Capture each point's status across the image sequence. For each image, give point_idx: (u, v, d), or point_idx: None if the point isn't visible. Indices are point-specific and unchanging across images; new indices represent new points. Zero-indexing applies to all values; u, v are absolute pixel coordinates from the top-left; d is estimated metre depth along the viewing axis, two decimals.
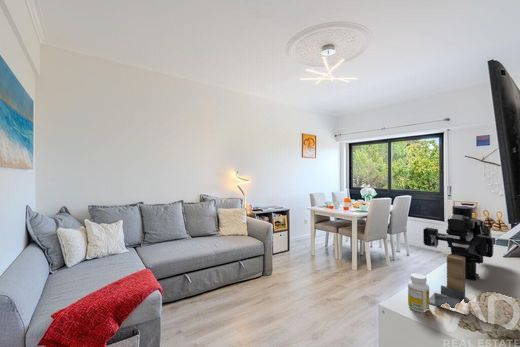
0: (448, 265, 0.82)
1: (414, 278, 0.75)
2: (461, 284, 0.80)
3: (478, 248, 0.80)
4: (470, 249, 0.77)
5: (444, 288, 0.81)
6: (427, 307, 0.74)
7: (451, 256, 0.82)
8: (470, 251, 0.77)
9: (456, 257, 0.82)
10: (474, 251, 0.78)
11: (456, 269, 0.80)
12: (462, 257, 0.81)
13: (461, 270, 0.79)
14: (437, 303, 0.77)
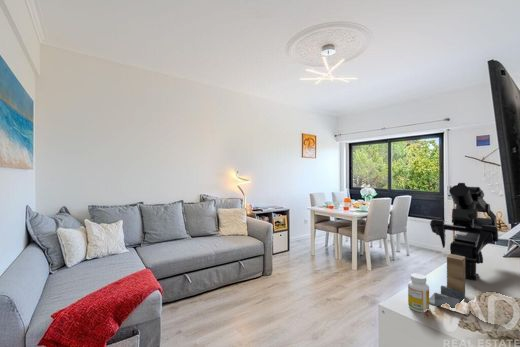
0: (448, 265, 0.82)
1: (414, 278, 0.75)
2: (461, 284, 0.80)
3: (484, 238, 0.86)
4: (479, 250, 0.84)
5: (444, 288, 0.81)
6: (427, 307, 0.74)
7: (451, 256, 0.82)
8: (479, 251, 0.84)
9: (455, 257, 0.82)
10: (482, 247, 0.85)
11: (456, 269, 0.80)
12: (462, 257, 0.81)
13: (461, 270, 0.79)
14: (437, 303, 0.77)
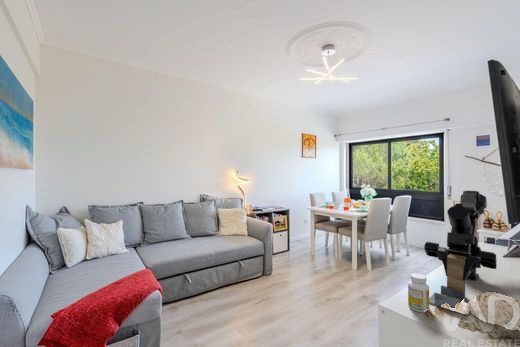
0: (448, 265, 0.82)
1: (414, 278, 0.75)
2: (461, 284, 0.80)
3: (472, 263, 0.82)
4: (466, 277, 0.80)
5: (444, 288, 0.81)
6: (427, 307, 0.74)
7: (451, 256, 0.82)
8: (466, 278, 0.80)
9: (456, 257, 0.82)
10: (469, 273, 0.81)
11: (456, 269, 0.80)
12: (462, 257, 0.81)
13: (461, 270, 0.79)
14: (437, 303, 0.77)
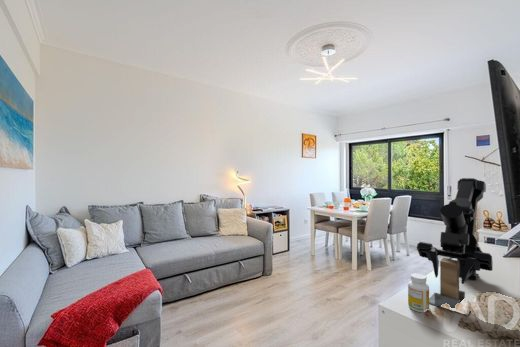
0: (441, 270, 0.77)
1: (414, 278, 0.75)
2: (455, 290, 0.75)
3: None
4: (464, 280, 0.74)
5: None
6: (427, 307, 0.74)
7: (445, 260, 0.78)
8: (464, 281, 0.75)
9: (449, 261, 0.77)
10: (468, 276, 0.75)
11: (450, 274, 0.76)
12: (456, 261, 0.77)
13: (455, 275, 0.75)
14: (437, 303, 0.77)
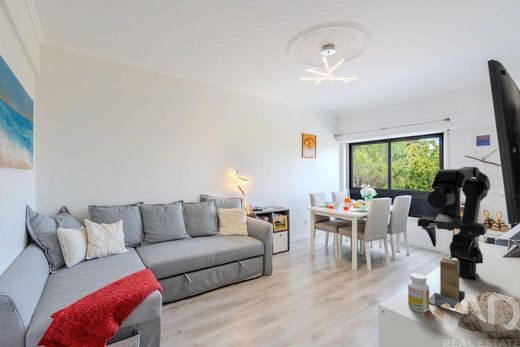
0: (441, 270, 0.77)
1: (414, 278, 0.75)
2: (455, 290, 0.75)
3: None
4: (468, 250, 0.85)
5: None
6: (427, 307, 0.74)
7: (445, 260, 0.78)
8: (468, 250, 0.85)
9: (449, 261, 0.77)
10: (471, 244, 0.85)
11: (450, 274, 0.76)
12: (456, 261, 0.77)
13: (455, 275, 0.75)
14: (437, 303, 0.77)
